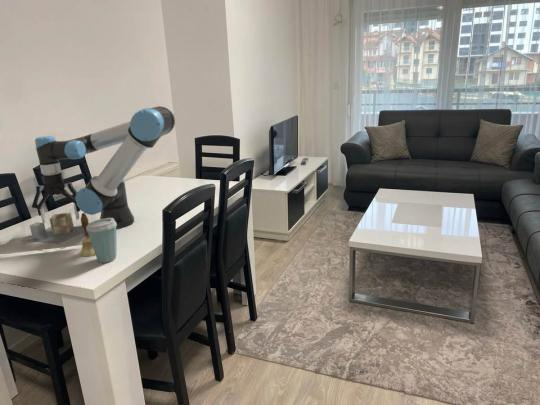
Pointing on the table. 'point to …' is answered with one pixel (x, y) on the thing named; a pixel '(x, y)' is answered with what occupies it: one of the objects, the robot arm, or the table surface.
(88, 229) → the disposable coffee cup
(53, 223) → the hollow wooden cube frame
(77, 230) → the base board
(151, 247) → the table surface
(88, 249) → the hand bell
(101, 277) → the table surface
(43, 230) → the steel block
